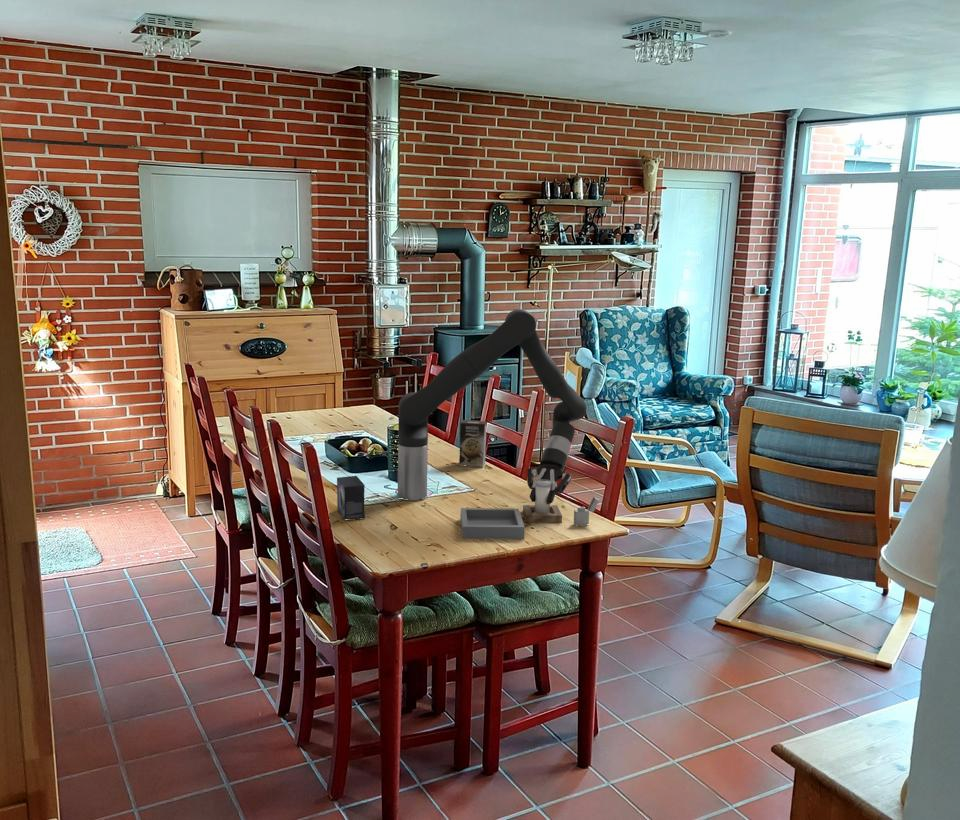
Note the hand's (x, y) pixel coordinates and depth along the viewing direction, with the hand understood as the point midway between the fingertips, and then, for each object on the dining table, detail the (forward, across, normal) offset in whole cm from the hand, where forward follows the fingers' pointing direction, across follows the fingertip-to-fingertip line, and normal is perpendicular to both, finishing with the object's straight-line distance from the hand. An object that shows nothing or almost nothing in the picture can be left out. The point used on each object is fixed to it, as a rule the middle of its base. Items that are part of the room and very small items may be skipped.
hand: (540, 501), depth 262 cm
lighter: (+3, +14, +5) cm, 15 cm away
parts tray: (+15, -8, -8) cm, 19 cm away
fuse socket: (+2, 0, +5) cm, 5 cm away
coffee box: (-30, -44, +37) cm, 65 cm away
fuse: (+2, 0, +5) cm, 5 cm away
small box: (+21, -50, -13) cm, 56 cm away
